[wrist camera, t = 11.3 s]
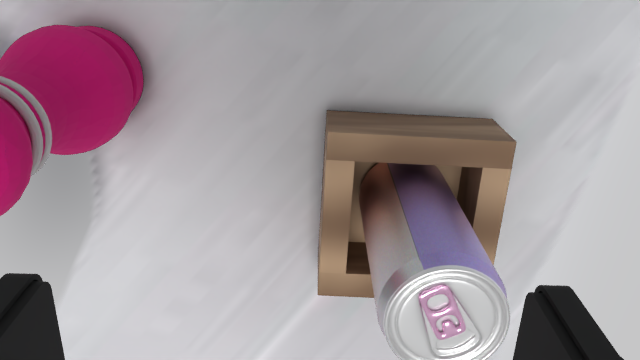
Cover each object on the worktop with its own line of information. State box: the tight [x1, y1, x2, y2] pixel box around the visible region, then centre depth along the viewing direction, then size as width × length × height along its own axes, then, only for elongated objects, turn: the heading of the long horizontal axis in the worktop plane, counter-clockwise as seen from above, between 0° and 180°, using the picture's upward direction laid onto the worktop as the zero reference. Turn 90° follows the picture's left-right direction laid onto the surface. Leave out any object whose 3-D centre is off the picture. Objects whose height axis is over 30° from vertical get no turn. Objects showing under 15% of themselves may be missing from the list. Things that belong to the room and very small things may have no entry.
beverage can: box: [359, 163, 510, 360], centre depth 32 cm, size 6×6×15 cm
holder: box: [318, 110, 516, 298], centre depth 38 cm, size 11×11×5 cm
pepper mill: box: [0, 25, 143, 216], centre depth 28 cm, size 7×7×20 cm
